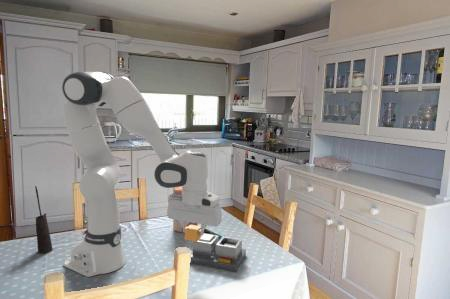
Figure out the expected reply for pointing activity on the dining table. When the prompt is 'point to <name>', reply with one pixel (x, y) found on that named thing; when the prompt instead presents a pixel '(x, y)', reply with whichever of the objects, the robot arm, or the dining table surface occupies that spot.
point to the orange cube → (192, 233)
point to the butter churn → (42, 231)
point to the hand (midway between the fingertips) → (193, 233)
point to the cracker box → (176, 223)
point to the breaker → (206, 238)
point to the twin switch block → (218, 253)
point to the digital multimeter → (211, 233)
